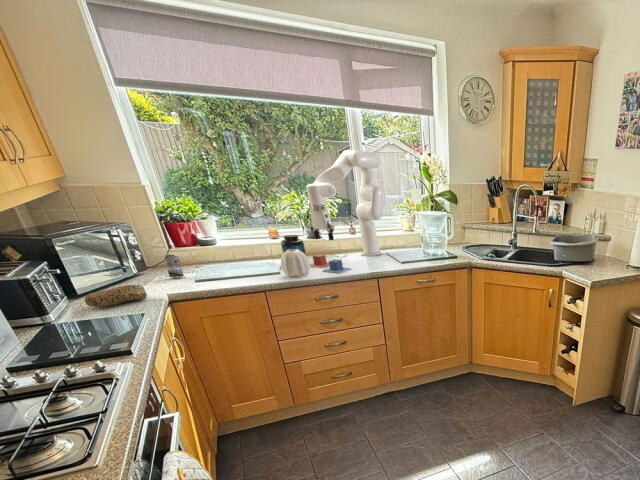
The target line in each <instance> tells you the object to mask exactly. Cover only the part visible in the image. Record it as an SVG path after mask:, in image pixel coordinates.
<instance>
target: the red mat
mask: <svg viewBox="0 0 640 480" xmlns="http://www.w3.org/2000/svg"><path fill="white" fill-rule="evenodd" d="M309 264H310V268H311V267H312V268H321V269H323V268H327V267H330V266H329V261H328V262H327V264H324V265H314V262H313V263H309Z"/></svg>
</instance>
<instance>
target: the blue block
mask: <svg viewBox="0 0 640 480" xmlns="http://www.w3.org/2000/svg"><path fill="white" fill-rule="evenodd" d="M328 262H329V266H328V267H329V268H330V270H335V271H338V270H341V269H343V267H344V265H343V260H342V259H337V258H336V259H335V258H334V259H330V260H328Z"/></svg>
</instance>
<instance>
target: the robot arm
mask: <svg viewBox="0 0 640 480" xmlns="http://www.w3.org/2000/svg"><path fill="white" fill-rule="evenodd" d="M380 163H381V162H380V158H379V156H378V154H376V153H375V152H372V151H371V152H370V151H363V150H356V149H353V150H352V149H347V150H343V151H342V152H341V154H340V155H339V157H337V159H336V161H335V162H334V163H333V164H332V166H331V167H329V168H327V169H326V170H325V171H323V172H322V173H320V174H319V175H318V176H317V177H316V179H314V182H313V183H309V184H307V185H306V187H305V188H306V189H305V190H306V194H307V197H308V202H309V208H310V218H311V222H309V223H308V226H309V228H310V229H311V230H312V232H313V234H314V238H315V240H320V239H321V235H320V231H319V230H321V231H322V230H323V231H324V230H325V231H326V232H328V233H327V238H328V240H329V241H334V231H335V227H336V226H335V224H334V223H332V221H331V218H330V215H329V213H328V210H326V209H327V206H326V205H325V201H324V198H330V199H331V198H333V197H335V196H336V195H337V188H336V187H335V185H333V184H334V183H337V182H339V181H342V180H345V179H346V178H347V176H348V175H349V173H350V172H351V170H352V169H353V168H358V171H359V172H360V175H361V178H360V188H359V194H360V195H359V196H360V198H361V199H362V201H365V202H360V203H358V204H357V205H356V207H355V213H356V216H357V219H358V224H359V229H360V230H359V231H360V236H361V244H362V251H361V255H362V256H367V257H368V256H369V257H374V256H380V255H381V254H382V252H381V249H383V248H382V246H381V245H378V238H377V229H376V224H375V221H380V220H381V218H382V217H383V213H384V206H385V191H384V190H383V188H382V187H381V186H380V185H376V181H377V179H376V174H375V172H374V170H373V169H377V168H378V167H379V166H380Z"/></svg>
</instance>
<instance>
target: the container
mask: <svg viewBox="0 0 640 480" xmlns="http://www.w3.org/2000/svg"><path fill="white" fill-rule="evenodd" d="M280 241H281V242H280V244H281V249H282V254H283V253H284V252H285V251H287V250H290V249H297V250H300V251H301V252H303V253H304V254H305V255H306V256H307V253H306V248H305V244H304V241H303V239H300V238H299V235H297V234H287V235H286V234H285V235H284V236H283V239H282V240H280Z"/></svg>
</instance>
